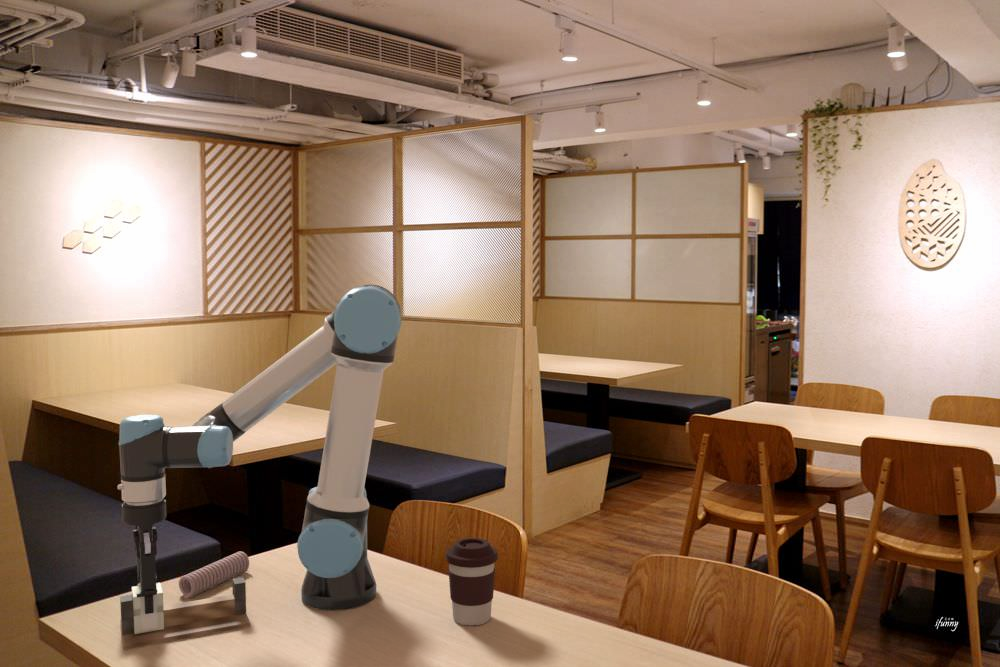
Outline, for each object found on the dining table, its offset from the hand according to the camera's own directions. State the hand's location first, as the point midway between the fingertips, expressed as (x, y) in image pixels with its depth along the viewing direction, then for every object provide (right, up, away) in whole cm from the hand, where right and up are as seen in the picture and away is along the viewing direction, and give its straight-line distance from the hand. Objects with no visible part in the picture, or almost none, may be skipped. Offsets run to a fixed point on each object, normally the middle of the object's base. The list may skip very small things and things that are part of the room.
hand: (148, 621), depth 160 cm
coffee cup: (+60, -2, +6) cm, 60 cm away
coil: (+5, 0, +24) cm, 25 cm away
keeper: (0, -1, 0) cm, 1 cm away
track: (+6, -2, +3) cm, 7 cm away
